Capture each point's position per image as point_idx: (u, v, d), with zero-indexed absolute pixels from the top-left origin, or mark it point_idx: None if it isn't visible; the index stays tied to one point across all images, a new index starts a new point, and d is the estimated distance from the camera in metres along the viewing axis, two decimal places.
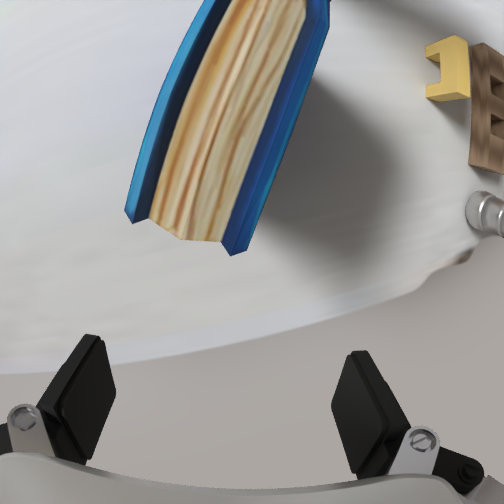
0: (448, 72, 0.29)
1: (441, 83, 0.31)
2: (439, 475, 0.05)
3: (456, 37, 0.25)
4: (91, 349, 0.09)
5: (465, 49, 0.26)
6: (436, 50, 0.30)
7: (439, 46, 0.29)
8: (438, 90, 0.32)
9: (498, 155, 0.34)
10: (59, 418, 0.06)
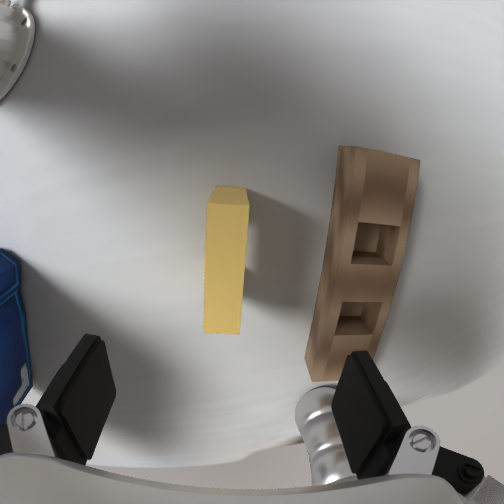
0: None
1: None
2: (439, 475, 0.05)
3: (212, 208, 0.18)
4: (91, 349, 0.09)
5: (238, 231, 0.18)
6: None
7: None
8: None
9: None
10: (59, 418, 0.06)
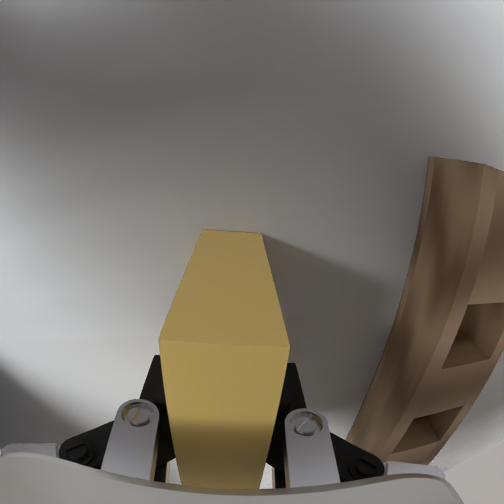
0: None
1: None
2: None
3: (176, 354, 0.06)
4: None
5: (253, 403, 0.06)
6: None
7: None
8: None
9: None
10: None
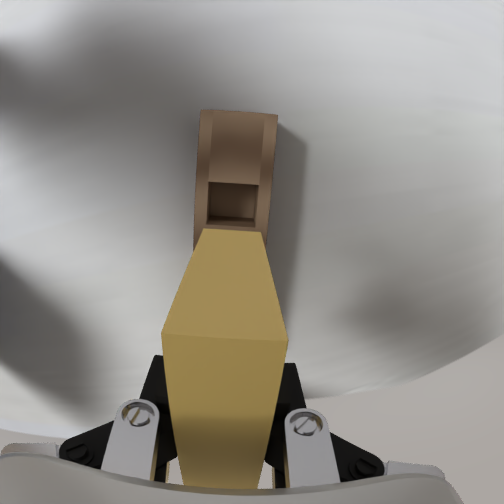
0: None
1: None
2: None
3: (178, 348, 0.06)
4: None
5: (253, 396, 0.06)
6: None
7: None
8: None
9: None
10: None
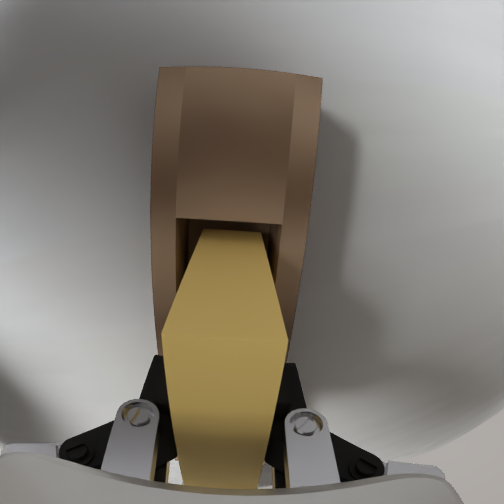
0: None
1: None
2: None
3: (178, 348, 0.06)
4: None
5: (253, 396, 0.06)
6: None
7: None
8: None
9: None
10: None
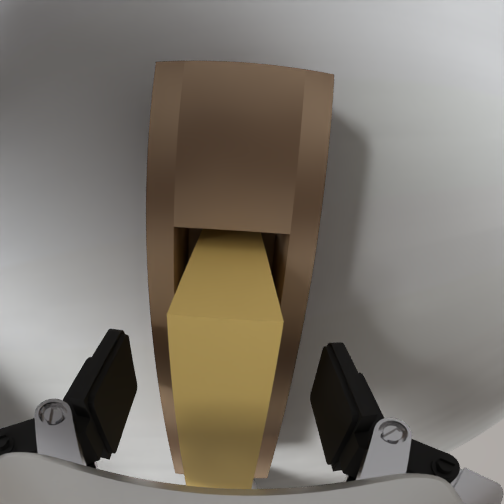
0: None
1: None
2: (410, 469, 0.06)
3: (182, 328, 0.06)
4: (117, 343, 0.10)
5: (251, 376, 0.07)
6: None
7: None
8: None
9: None
10: (88, 411, 0.07)
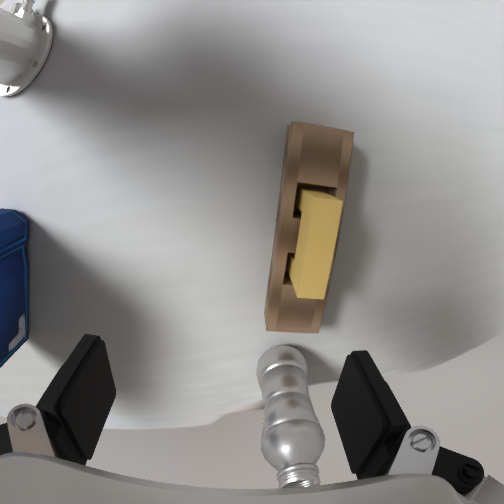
0: (299, 256, 0.28)
1: (293, 264, 0.30)
2: (439, 475, 0.05)
3: (317, 201, 0.24)
4: (91, 349, 0.09)
5: (333, 219, 0.25)
6: (300, 204, 0.29)
7: (303, 201, 0.28)
8: (291, 271, 0.31)
9: (303, 311, 0.32)
10: (59, 418, 0.06)
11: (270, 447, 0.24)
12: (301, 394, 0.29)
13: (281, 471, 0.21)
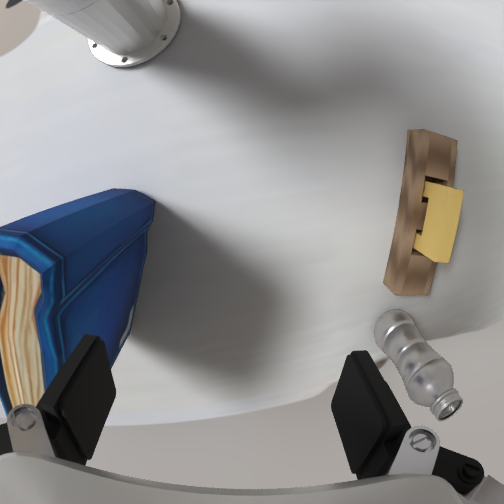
0: (431, 231, 0.32)
1: (421, 238, 0.34)
2: (439, 475, 0.05)
3: (451, 190, 0.29)
4: (91, 349, 0.09)
5: (458, 203, 0.29)
6: (425, 192, 0.34)
7: (429, 190, 0.33)
8: (417, 244, 0.35)
9: (420, 276, 0.37)
10: (59, 418, 0.06)
11: (422, 384, 0.28)
12: (426, 343, 0.34)
13: (437, 399, 0.26)
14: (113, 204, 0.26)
